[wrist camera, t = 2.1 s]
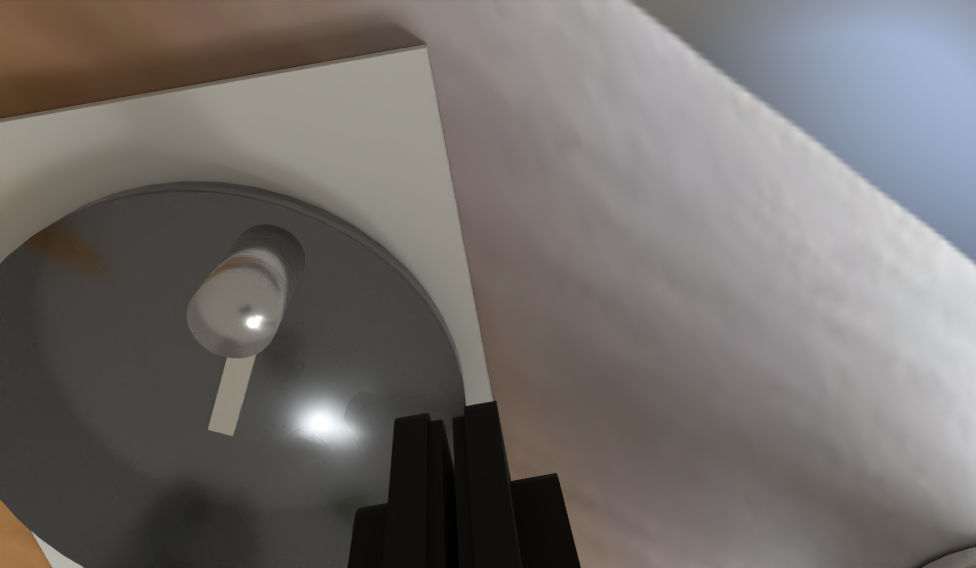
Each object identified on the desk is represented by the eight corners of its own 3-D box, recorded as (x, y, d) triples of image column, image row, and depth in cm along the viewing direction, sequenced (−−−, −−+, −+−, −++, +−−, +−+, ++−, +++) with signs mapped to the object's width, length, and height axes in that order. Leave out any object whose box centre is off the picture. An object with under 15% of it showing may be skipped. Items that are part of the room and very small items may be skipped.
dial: (415, 138, 25) (408, 188, 19) (497, 542, 34) (510, 664, 28) (-121, 231, 25) (-290, 310, 19) (94, 611, 34) (20, 747, 28)
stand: (426, 43, 26) (424, 58, 21) (517, 527, 36) (528, 608, 31) (-154, 145, 26) (-280, 182, 21) (98, 599, 36) (49, 690, 31)
